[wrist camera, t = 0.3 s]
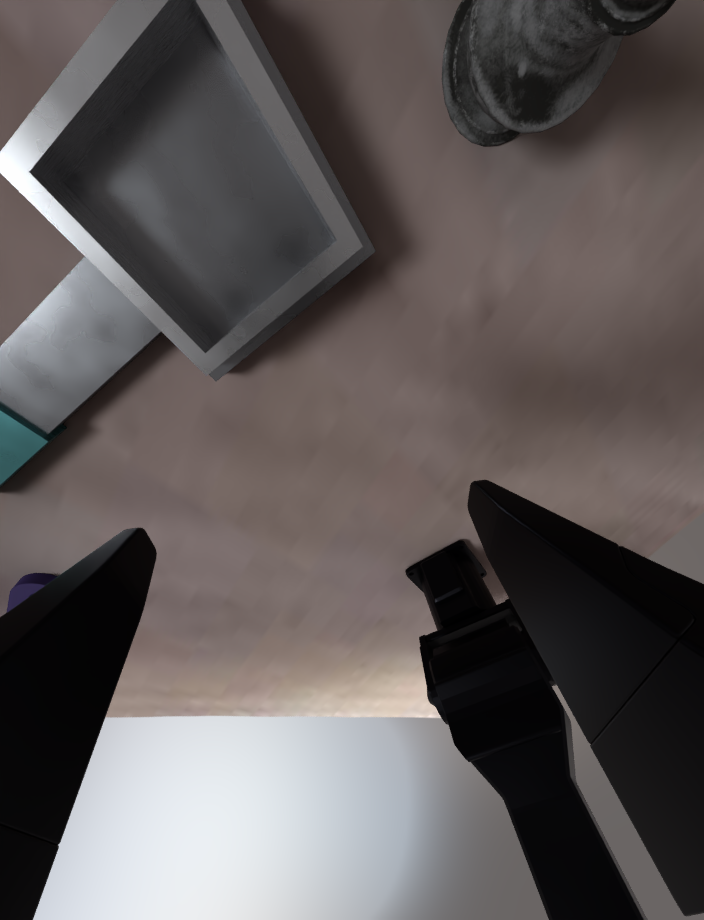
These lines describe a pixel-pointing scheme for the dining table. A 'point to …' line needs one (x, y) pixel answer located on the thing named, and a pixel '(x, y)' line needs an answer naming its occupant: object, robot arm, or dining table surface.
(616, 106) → the dining table surface
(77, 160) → the square frying pan
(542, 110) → the chess piece
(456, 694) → the robot arm
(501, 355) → the dining table surface
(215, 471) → the dining table surface
